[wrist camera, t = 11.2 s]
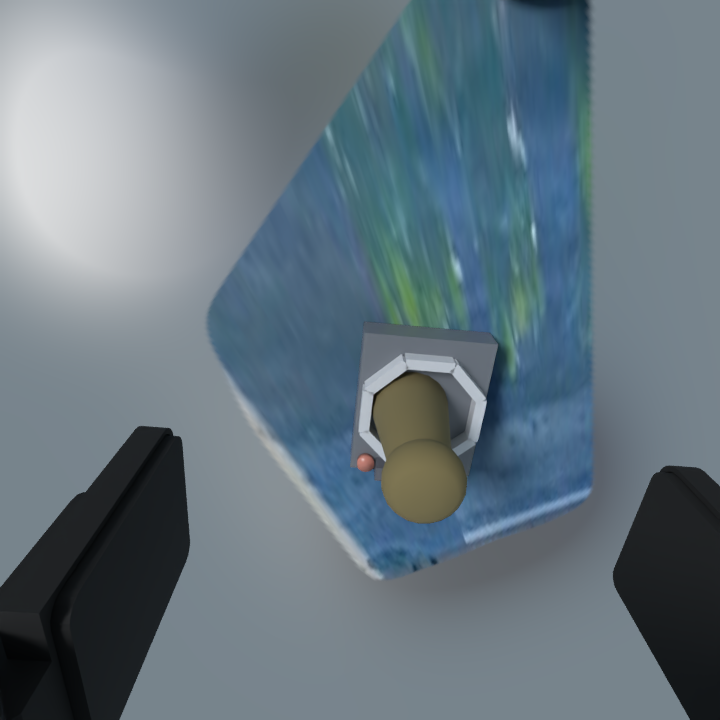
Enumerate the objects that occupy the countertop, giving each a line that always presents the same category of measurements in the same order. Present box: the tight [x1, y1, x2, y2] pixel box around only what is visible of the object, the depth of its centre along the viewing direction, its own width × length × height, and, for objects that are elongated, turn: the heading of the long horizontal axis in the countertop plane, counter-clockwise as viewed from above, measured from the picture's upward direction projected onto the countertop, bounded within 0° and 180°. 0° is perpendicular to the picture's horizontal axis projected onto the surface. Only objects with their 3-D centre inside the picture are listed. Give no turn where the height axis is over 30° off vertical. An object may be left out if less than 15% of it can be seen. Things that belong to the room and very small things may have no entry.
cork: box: [371, 372, 467, 523], centre depth 33 cm, size 6×6×11 cm
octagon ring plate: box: [350, 322, 498, 481], centre depth 38 cm, size 12×10×4 cm
